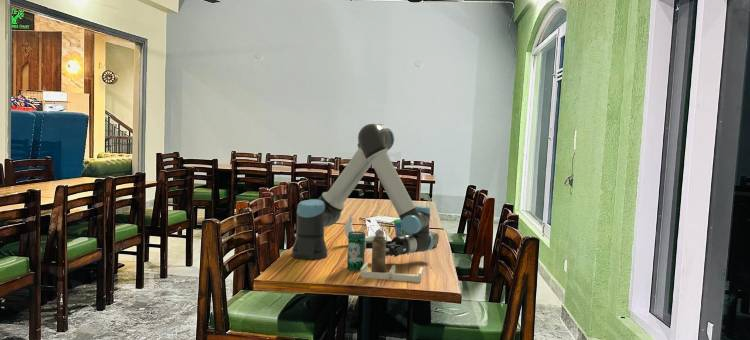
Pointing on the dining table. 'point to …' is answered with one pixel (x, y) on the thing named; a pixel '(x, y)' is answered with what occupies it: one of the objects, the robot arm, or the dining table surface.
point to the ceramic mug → (435, 237)
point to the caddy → (391, 274)
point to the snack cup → (398, 228)
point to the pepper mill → (378, 252)
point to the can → (356, 250)
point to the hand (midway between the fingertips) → (363, 250)
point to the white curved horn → (349, 228)
